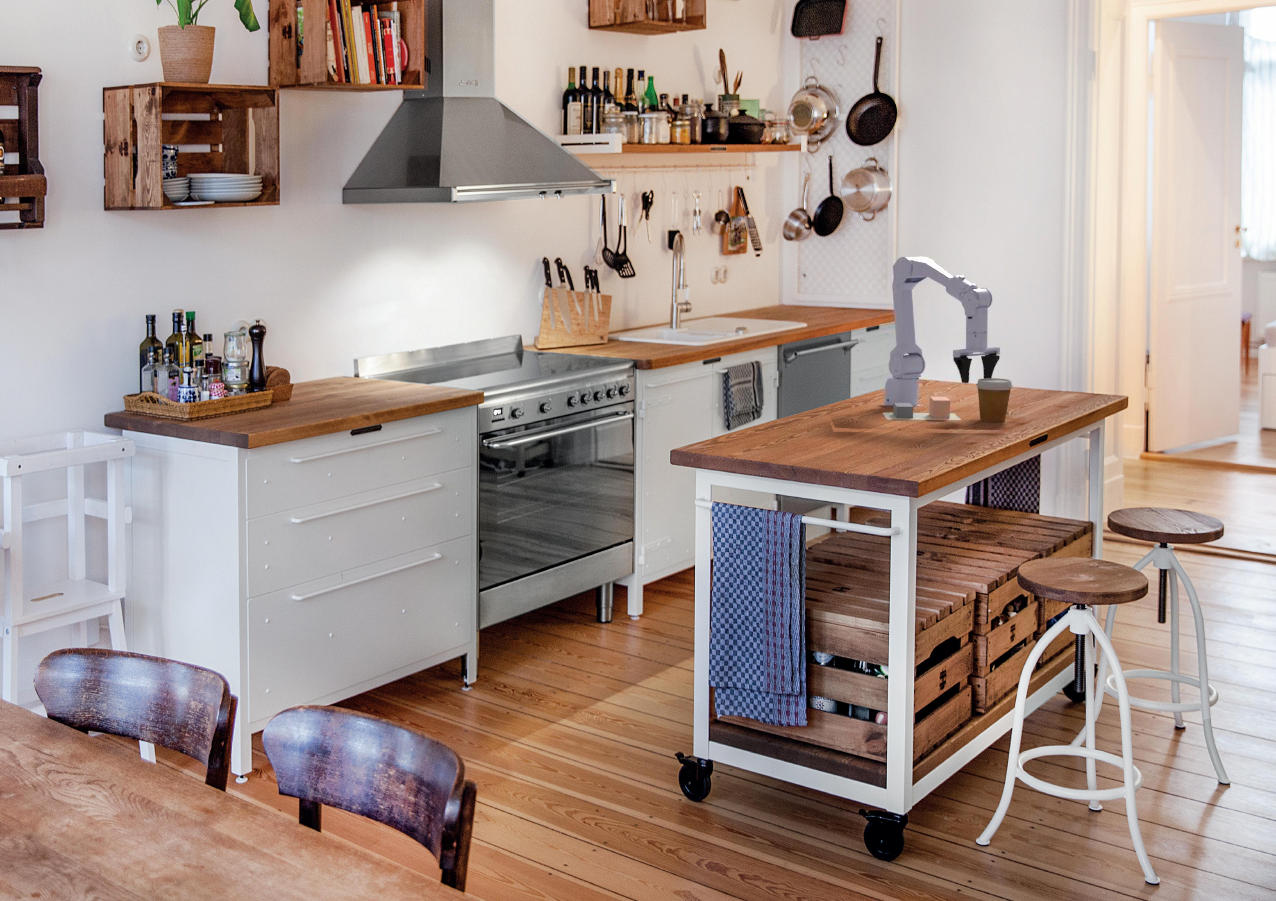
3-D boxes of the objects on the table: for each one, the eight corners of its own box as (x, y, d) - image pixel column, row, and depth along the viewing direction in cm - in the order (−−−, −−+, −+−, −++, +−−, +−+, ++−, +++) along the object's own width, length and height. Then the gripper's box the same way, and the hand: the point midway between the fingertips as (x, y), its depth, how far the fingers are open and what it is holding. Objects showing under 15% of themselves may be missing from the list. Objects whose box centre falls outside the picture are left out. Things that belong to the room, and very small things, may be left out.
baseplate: (886, 422, 343) (887, 419, 343) (882, 416, 355) (882, 412, 355) (961, 423, 341) (961, 420, 341) (953, 416, 353) (954, 413, 353)
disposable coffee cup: (1004, 428, 335) (1007, 383, 332) (969, 425, 340) (971, 381, 337) (1014, 423, 343) (1017, 379, 340) (980, 420, 348) (982, 377, 345)
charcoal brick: (896, 418, 345) (896, 406, 344) (893, 414, 352) (893, 402, 351) (912, 418, 345) (913, 406, 344) (909, 414, 352) (910, 402, 351)
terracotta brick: (932, 418, 344) (933, 400, 343) (929, 414, 351) (929, 396, 350) (949, 418, 344) (950, 400, 343) (945, 414, 351) (946, 396, 350)
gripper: (964, 334, 339) (964, 384, 341) (1007, 331, 344) (1006, 381, 346) (948, 333, 345) (948, 382, 347) (990, 331, 351) (990, 379, 353)
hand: (976, 382), depth 347 cm, fingers open, 7 cm apart
